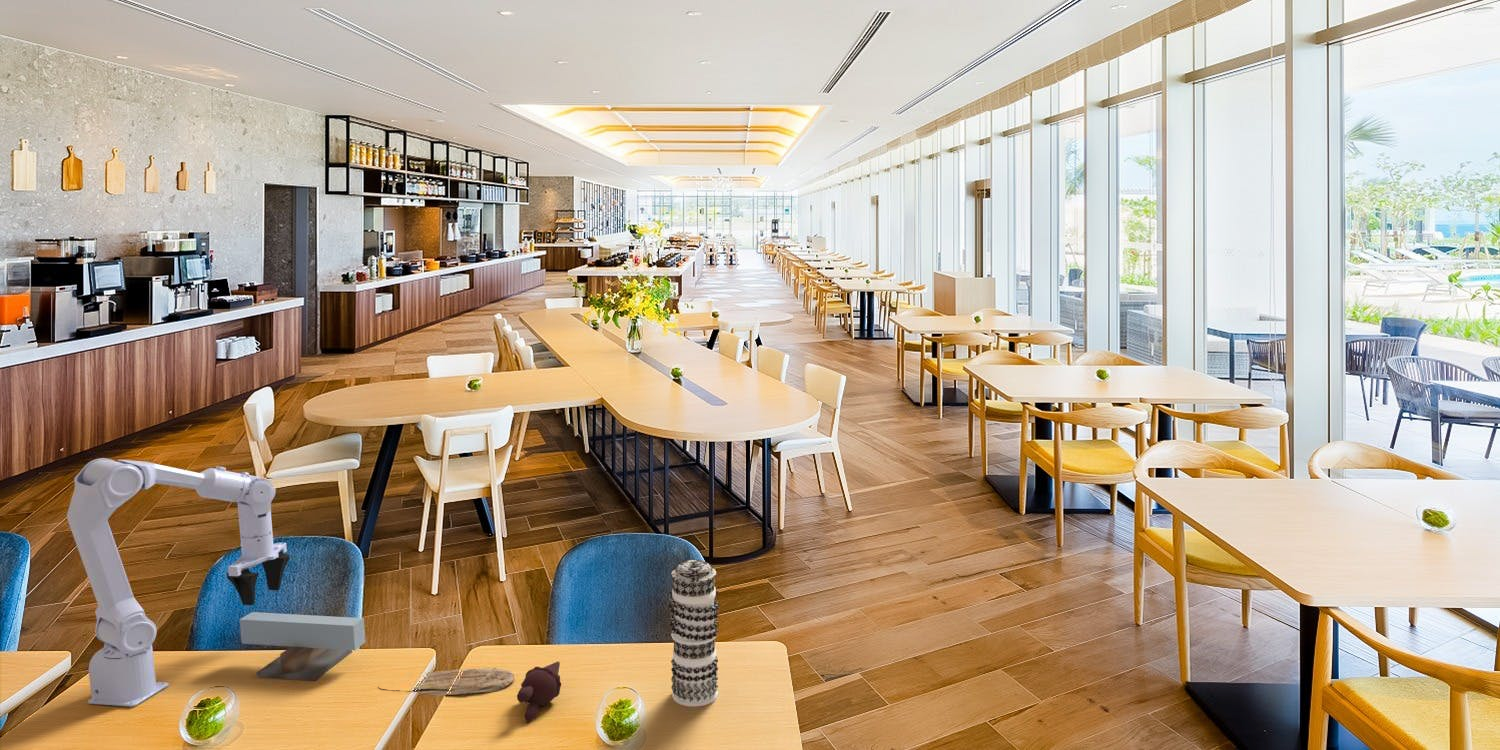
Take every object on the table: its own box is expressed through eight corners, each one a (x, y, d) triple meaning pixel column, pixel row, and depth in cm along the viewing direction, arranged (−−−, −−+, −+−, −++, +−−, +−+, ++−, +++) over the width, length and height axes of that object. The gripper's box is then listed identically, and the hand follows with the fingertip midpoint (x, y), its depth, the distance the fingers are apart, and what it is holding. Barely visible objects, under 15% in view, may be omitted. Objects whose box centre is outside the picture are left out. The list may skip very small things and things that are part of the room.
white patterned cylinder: (669, 683, 158) (667, 556, 154) (718, 681, 159) (717, 554, 155) (669, 709, 149) (667, 575, 145) (721, 706, 150) (720, 573, 146)
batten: (241, 643, 165) (239, 619, 164) (254, 635, 168) (252, 612, 167) (355, 650, 162) (353, 625, 161) (365, 642, 165) (363, 618, 164)
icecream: (535, 648, 158) (497, 694, 144) (570, 642, 157) (535, 689, 142) (546, 681, 159) (510, 730, 145) (581, 675, 158) (547, 725, 143)
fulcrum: (256, 677, 160) (254, 655, 160) (297, 648, 172) (296, 628, 171) (314, 681, 159) (312, 658, 158) (352, 652, 171) (350, 631, 170)
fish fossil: (366, 701, 152) (366, 695, 152) (384, 678, 162) (384, 672, 162) (511, 690, 155) (511, 684, 155) (520, 668, 165) (520, 663, 165)
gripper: (249, 546, 163) (254, 612, 165) (297, 523, 177) (302, 584, 179) (216, 544, 164) (222, 610, 166) (267, 522, 178) (272, 582, 180)
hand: (261, 596), depth 173 cm, fingers open, 7 cm apart
